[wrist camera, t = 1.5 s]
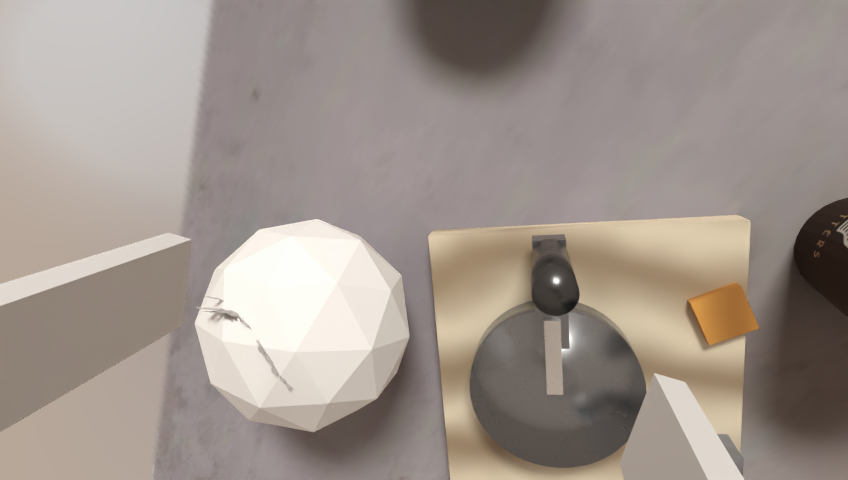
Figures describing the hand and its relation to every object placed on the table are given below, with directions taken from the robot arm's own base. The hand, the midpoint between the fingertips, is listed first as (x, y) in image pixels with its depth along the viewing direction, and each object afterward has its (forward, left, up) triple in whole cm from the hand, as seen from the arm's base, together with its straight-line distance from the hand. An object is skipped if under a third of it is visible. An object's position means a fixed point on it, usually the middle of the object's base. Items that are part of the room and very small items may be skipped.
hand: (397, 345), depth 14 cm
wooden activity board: (-11, -7, -23) cm, 26 cm away
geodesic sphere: (-6, +11, -23) cm, 26 cm away
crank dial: (-9, -5, -20) cm, 23 cm away
